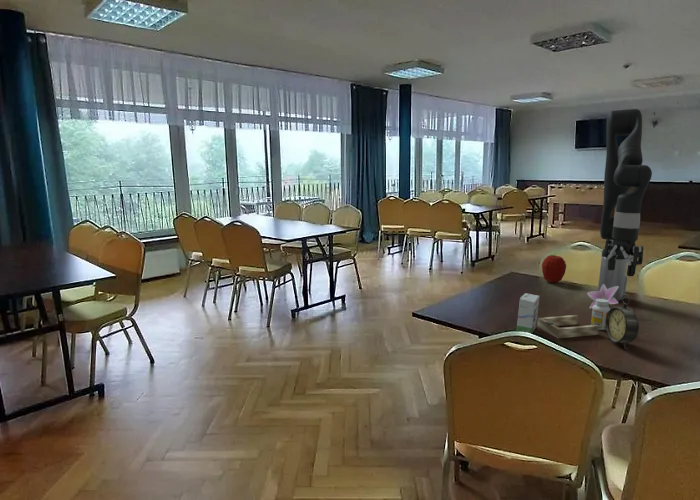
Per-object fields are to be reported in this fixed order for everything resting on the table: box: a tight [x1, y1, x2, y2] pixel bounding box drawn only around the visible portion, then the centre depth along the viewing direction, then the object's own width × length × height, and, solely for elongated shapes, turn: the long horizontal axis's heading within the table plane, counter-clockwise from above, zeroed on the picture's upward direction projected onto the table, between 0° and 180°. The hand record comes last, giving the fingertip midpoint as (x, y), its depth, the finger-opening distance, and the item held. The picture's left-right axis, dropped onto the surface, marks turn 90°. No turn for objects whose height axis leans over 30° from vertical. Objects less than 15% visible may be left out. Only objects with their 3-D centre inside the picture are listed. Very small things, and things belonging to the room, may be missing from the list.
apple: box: [541, 254, 567, 284], centre depth 214 cm, size 10×10×14 cm
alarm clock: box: [605, 293, 640, 351], centre depth 143 cm, size 11×5×16 cm, turn 0°
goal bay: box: [536, 314, 600, 339], centre depth 156 cm, size 15×11×3 cm
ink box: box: [515, 292, 540, 334], centre depth 155 cm, size 9×5×12 cm, turn 148°
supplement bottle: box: [590, 299, 611, 331], centre depth 158 cm, size 5×5×10 cm
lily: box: [586, 284, 619, 309], centre depth 177 cm, size 12×12×10 cm
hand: (620, 273), depth 158 cm, fingers open, 8 cm apart
